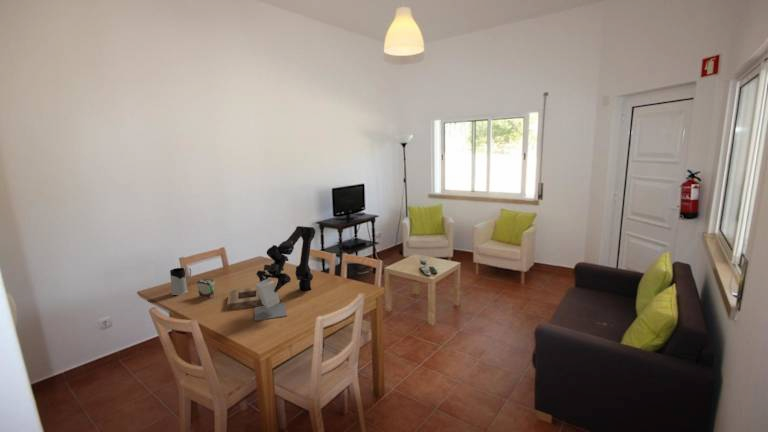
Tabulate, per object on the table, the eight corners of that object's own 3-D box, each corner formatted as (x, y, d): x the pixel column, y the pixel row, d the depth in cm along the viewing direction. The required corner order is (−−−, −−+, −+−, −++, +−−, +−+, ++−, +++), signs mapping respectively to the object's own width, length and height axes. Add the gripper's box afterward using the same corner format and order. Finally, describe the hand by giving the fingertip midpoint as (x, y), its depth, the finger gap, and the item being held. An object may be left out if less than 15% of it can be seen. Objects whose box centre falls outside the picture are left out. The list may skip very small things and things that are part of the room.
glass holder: (168, 295, 216) (165, 271, 214) (186, 286, 230) (184, 264, 227) (180, 296, 214) (177, 272, 211) (198, 287, 228) (195, 265, 225)
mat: (284, 304, 203) (284, 303, 203) (286, 316, 188) (286, 315, 188) (254, 308, 198) (254, 307, 197) (254, 321, 183) (254, 320, 183)
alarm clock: (220, 295, 215) (219, 279, 213) (212, 299, 210) (210, 283, 208) (206, 292, 220) (204, 276, 219) (197, 296, 215) (195, 280, 213)
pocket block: (265, 291, 221) (264, 286, 220) (266, 304, 202) (265, 298, 202) (230, 296, 214) (229, 290, 214) (227, 310, 196) (227, 304, 195)
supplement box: (280, 302, 192) (274, 281, 187) (267, 308, 187) (260, 288, 183) (274, 297, 197) (268, 277, 193) (261, 304, 193) (255, 283, 188)
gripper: (257, 256, 194) (244, 282, 186) (286, 259, 188) (274, 287, 180) (267, 265, 203) (256, 291, 195) (295, 268, 197) (285, 295, 189)
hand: (267, 291), depth 189 cm, fingers closed on supplement box, 9 cm apart
